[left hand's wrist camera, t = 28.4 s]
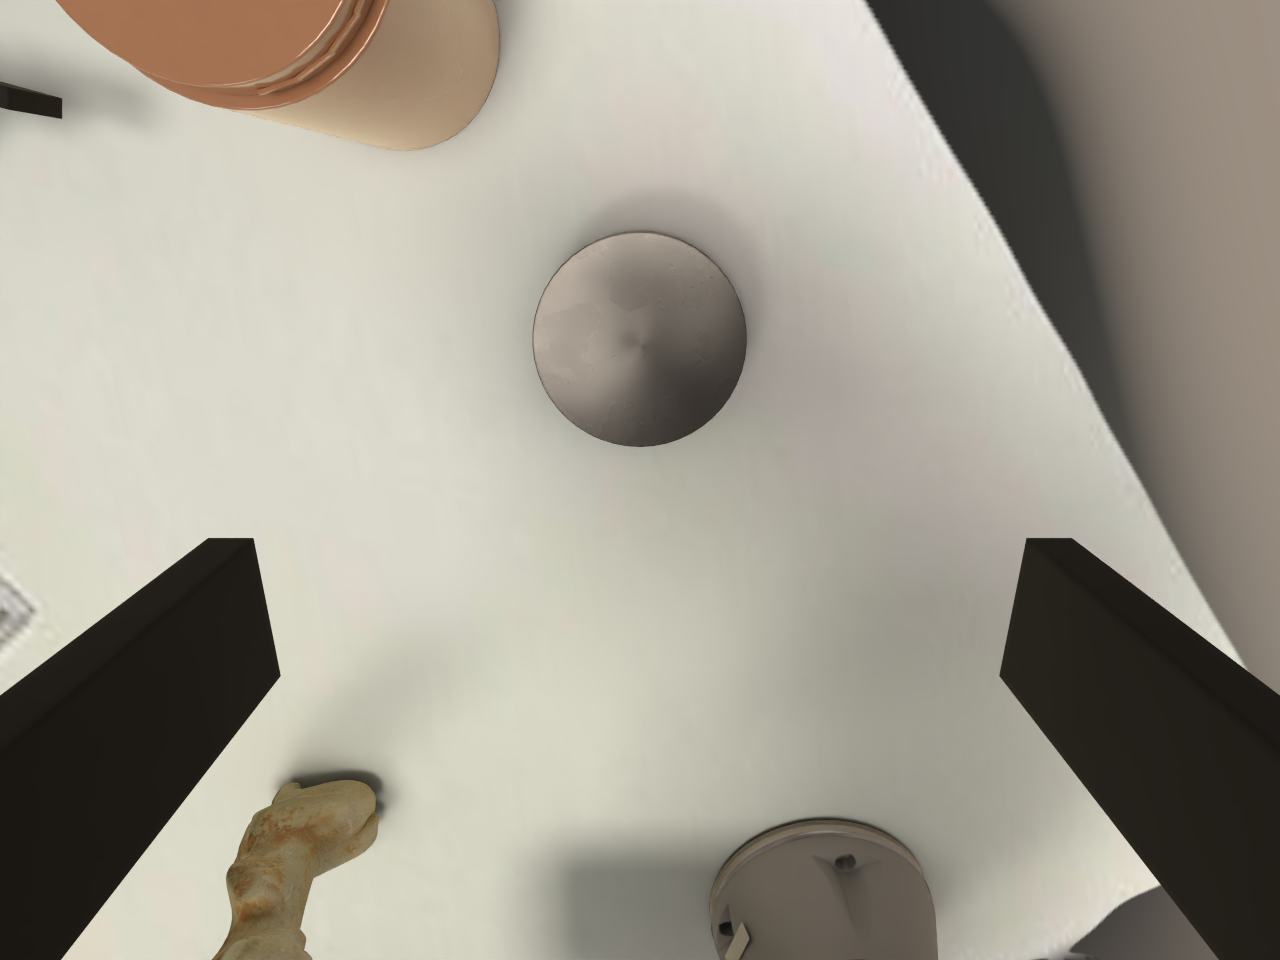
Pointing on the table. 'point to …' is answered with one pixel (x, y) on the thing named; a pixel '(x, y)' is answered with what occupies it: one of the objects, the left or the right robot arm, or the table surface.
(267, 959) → the sculpture
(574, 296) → the lid
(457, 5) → the jar
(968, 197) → the table surface
